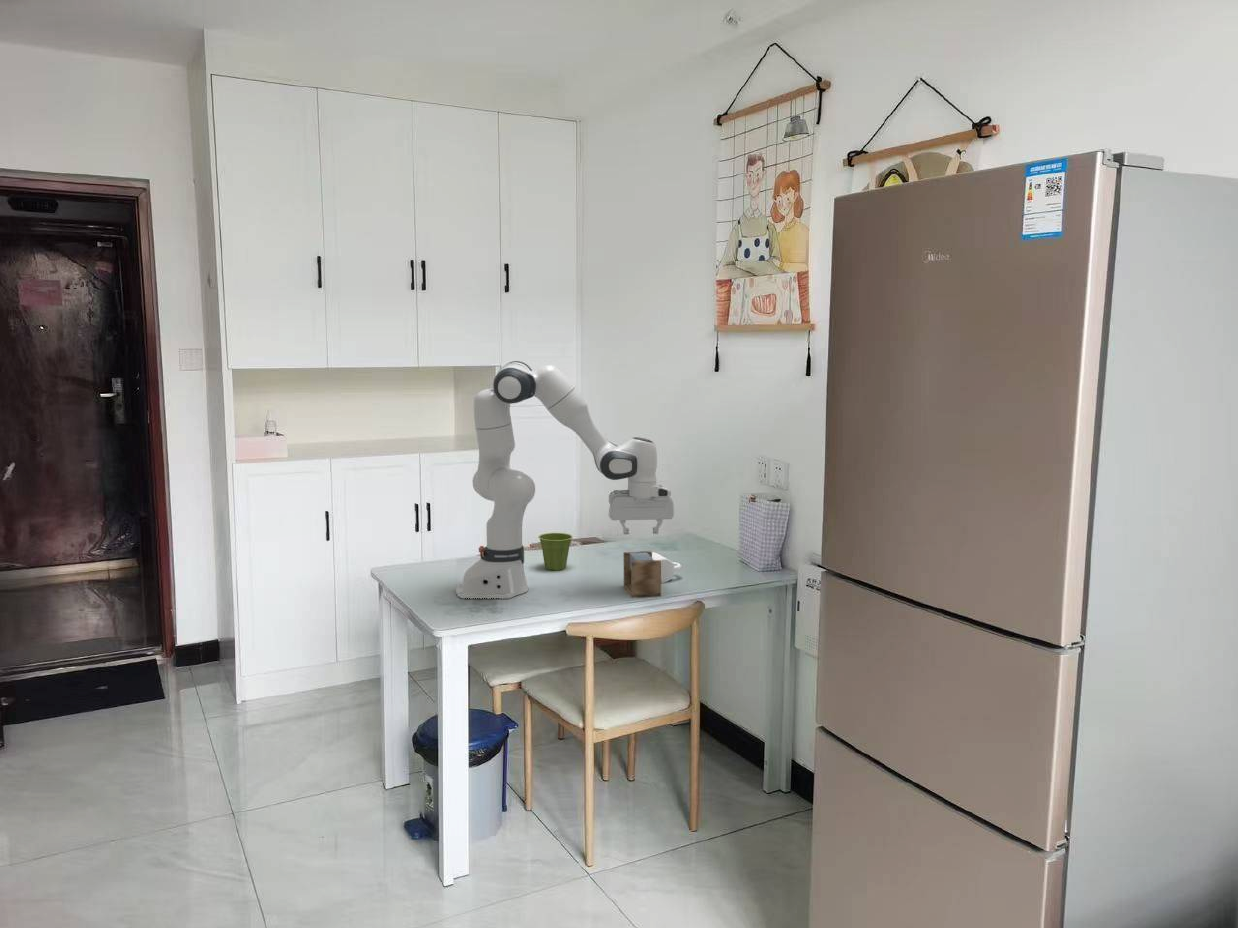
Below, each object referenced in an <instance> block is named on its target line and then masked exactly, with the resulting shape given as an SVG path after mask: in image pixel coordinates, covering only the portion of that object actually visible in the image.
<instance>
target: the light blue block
mask: <svg viewBox="0 0 1238 928" xmlns="http://www.w3.org/2000/svg"><path fill="white" fill-rule="evenodd" d="M652 560H653V559H652V558H651V557H650V555H649V554H648V553H630V570H631V562H633V561H652Z"/></svg>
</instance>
